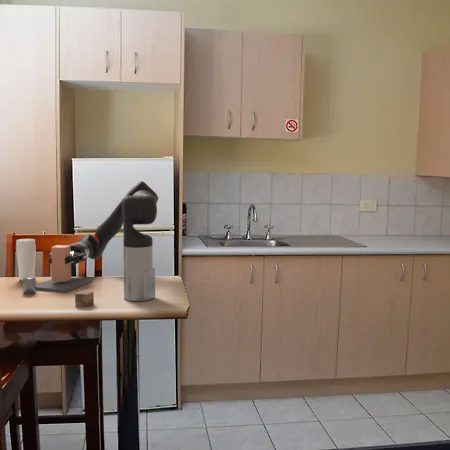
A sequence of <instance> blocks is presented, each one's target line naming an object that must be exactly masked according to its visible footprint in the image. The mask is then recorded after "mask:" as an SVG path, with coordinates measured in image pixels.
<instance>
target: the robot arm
mask: <svg viewBox="0 0 450 450" xmlns="http://www.w3.org/2000/svg"><path fill="white" fill-rule="evenodd" d="M158 200H159V196H158V194H157V192H155V190H153V189H152V188H151V187H150V186H149V185H148V183H146V182H144V181H139V182H137V183H136V184H135V185H133V186H132V187H131V188H130V190H128V192H127V193H126V194H125V196H124V197H123V198H122V199H121V200H120V202H119V203H118V204H117V205H116V207H115V208H114V209H113V211H112V212H111V214H110V215H109V216H108V217H107V218H106V219H105V220H104V221H103V222H102V223H101V224H100V225H99V226H98V227H97V228H96V229H95V236H96V237H95V236H93V235H92V234H90V233H88V234H85V235H83V236H82V237H81V238H80V239H79V241H78V242H73V243H71V244H69V246H70V249H71V255H70V256H68V257H66V258H65V264H68V263H71V266H72V265H73V266H74V265H75V266H76V265H77V264H79V263H81V262H84V261H87V260H88V258H90V259H91V260H97V259H99V258H100V257H101V256H102V255H103V254H104V251H105V250H106V248H107V245H108V244H109V242H111V240H113V238H115V236H116V235H117V234H118V233H119V232H120V231H121V229H122V226H123V299H124V301H125V300H126V301H128V302H130V301H131V302H149V301H150V300H152V299H154V298H155V297H156V269H155V268H154V267H153V262H154V261H153V260H154V259H153V254H154V253H153V238H152V236H150V235H148V234H145V233H143V232H140V231H139V230H137V229H136V228H135V227H134V225H152V224H153V223H154V222H155V221H156V219H157V215H158V206H157V205H158V203H157V202H158ZM96 238H97V239H96ZM48 263H49V264H51V265H52V258H51V252H50V253H49V254H48Z"/></svg>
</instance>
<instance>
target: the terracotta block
mask: <svg viewBox="0 0 450 450" xmlns="http://www.w3.org/2000/svg"><path fill="white" fill-rule="evenodd" d="M69 245H70V244H69ZM69 245H67V244H66V245H61V244H56V245H53V246H51V247H50V249H51V250H50V253H51V258H52V264H51V279H52V281H67V280H69V279H71V278H72V265H71V263H68V264H65V258H66V257H68V256H70V255H71V249H70V246H69Z"/></svg>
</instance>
